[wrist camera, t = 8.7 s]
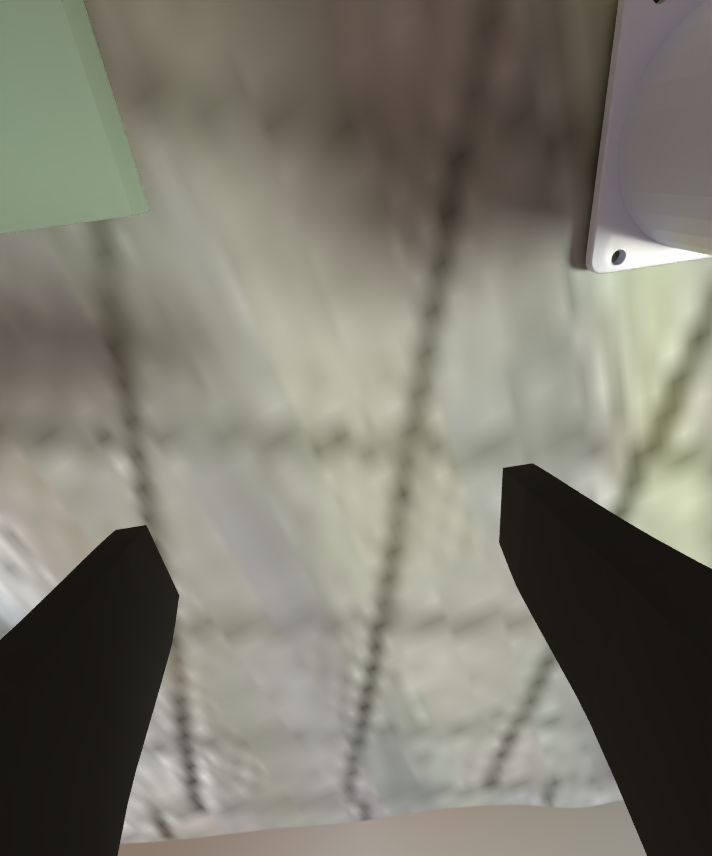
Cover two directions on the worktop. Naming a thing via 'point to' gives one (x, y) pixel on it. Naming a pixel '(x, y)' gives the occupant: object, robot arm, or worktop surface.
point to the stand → (59, 122)
